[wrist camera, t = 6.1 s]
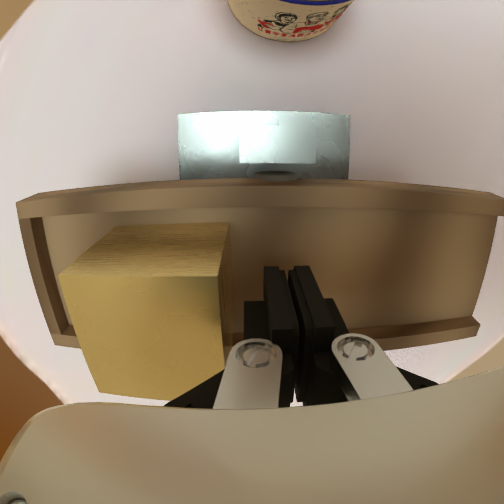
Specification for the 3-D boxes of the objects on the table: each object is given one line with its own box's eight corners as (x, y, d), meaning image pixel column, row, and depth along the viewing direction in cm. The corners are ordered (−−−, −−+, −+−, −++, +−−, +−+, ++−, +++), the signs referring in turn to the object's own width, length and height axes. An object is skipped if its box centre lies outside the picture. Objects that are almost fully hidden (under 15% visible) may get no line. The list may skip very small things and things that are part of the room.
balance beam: (469, 181, 15) (512, 197, 11) (445, 305, 18) (474, 338, 14) (57, 182, 15) (15, 198, 11) (83, 311, 18) (56, 347, 14)
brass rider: (229, 222, 13) (217, 276, 8) (233, 324, 15) (228, 403, 10) (116, 225, 13) (57, 274, 8) (134, 322, 15) (99, 392, 10)
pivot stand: (343, 115, 21) (416, 109, 11) (332, 295, 27) (371, 383, 17) (182, 115, 21) (127, 103, 11) (193, 297, 27) (167, 390, 16)
